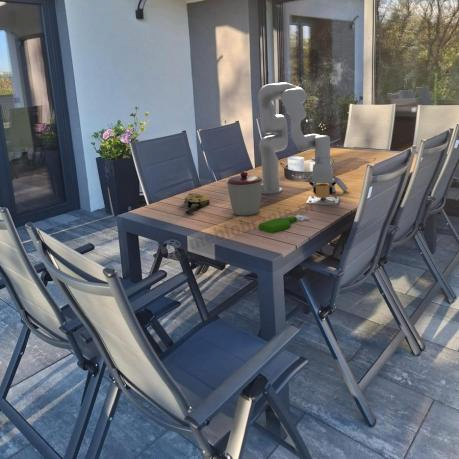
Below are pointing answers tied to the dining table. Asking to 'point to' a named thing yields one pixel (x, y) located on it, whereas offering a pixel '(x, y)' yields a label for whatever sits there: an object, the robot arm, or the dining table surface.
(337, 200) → the keeper
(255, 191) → the canister
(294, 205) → the dining table surface
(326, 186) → the tan hollow octagonal block
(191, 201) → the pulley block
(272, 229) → the spray bottle
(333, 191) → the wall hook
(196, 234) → the dining table surface
